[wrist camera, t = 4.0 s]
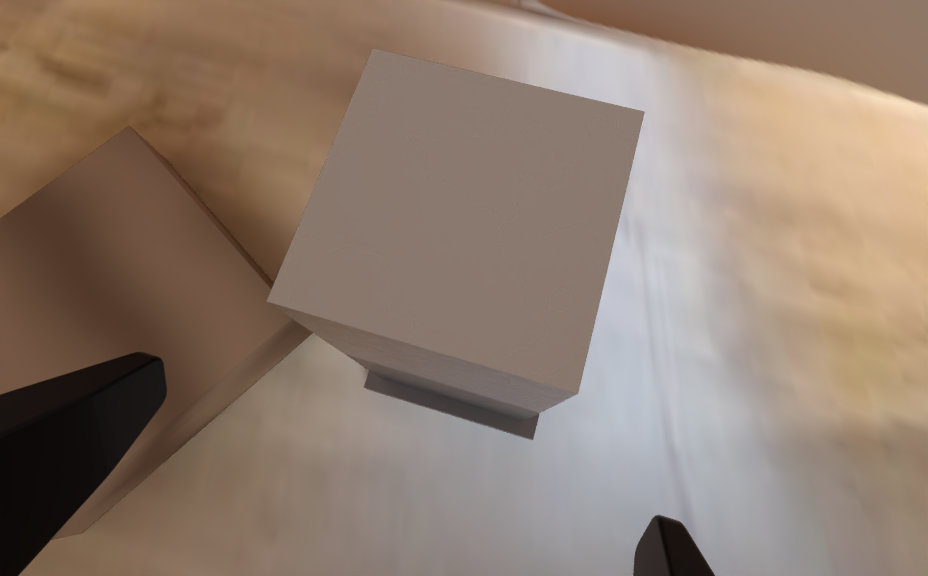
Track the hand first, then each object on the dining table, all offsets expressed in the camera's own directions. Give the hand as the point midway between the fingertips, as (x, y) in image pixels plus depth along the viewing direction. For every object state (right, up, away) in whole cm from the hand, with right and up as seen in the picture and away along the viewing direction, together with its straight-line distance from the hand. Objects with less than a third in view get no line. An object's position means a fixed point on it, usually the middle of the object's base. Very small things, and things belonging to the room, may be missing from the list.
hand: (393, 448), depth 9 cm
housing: (+2, +1, +12) cm, 12 cm away
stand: (-13, +1, +12) cm, 18 cm away
